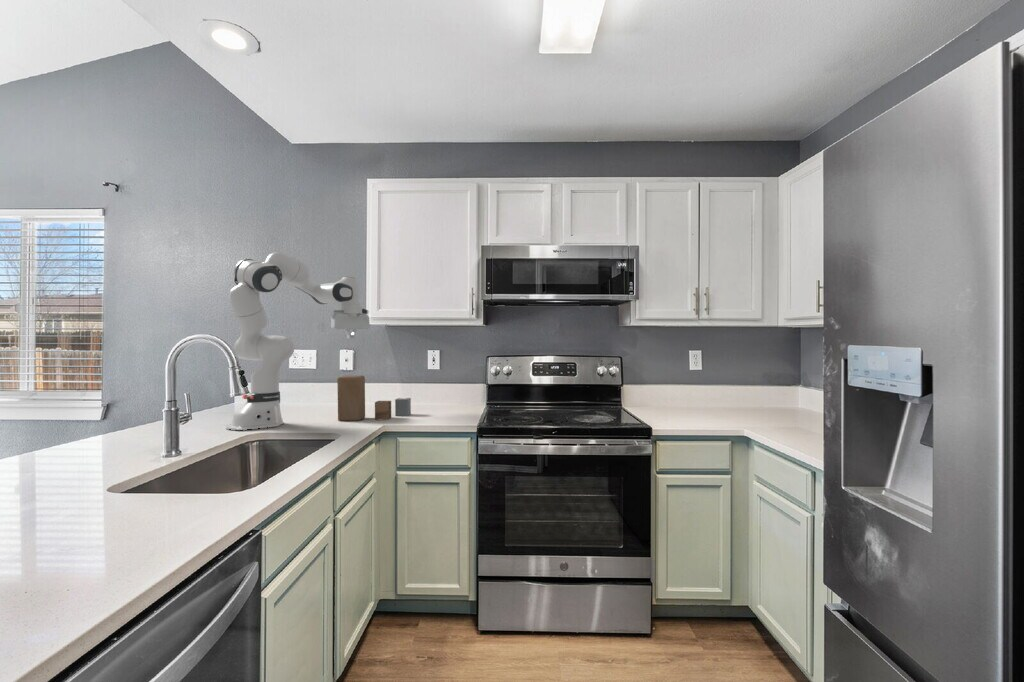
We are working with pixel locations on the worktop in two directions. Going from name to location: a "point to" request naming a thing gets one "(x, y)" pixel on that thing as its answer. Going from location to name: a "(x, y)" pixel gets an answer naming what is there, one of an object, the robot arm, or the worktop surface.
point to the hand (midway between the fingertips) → (350, 338)
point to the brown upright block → (383, 410)
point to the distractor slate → (402, 406)
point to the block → (351, 397)
